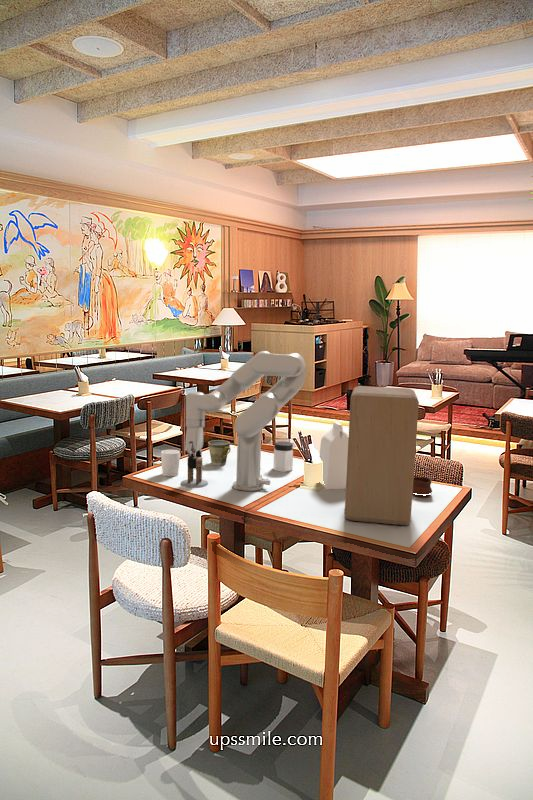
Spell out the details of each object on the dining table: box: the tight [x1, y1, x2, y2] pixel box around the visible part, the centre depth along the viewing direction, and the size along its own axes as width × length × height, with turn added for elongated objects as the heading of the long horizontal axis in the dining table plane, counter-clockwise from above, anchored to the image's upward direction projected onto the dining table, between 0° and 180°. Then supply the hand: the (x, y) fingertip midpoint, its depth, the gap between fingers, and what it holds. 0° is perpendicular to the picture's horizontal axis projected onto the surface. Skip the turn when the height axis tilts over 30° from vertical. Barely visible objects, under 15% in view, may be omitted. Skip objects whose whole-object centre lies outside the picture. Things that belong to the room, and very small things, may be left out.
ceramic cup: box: [207, 439, 231, 466], centre depth 283 cm, size 13×10×10 cm
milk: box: [319, 421, 349, 490], centre depth 256 cm, size 12×12×26 cm
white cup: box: [160, 449, 181, 477], centre depth 264 cm, size 8×8×10 cm
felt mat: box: [180, 478, 209, 488], centre depth 253 cm, size 11×11×1 cm
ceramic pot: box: [412, 476, 433, 501], centre depth 247 cm, size 18×18×7 cm
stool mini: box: [187, 457, 203, 484], centre depth 252 cm, size 6×6×10 cm
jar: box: [273, 440, 294, 473], centre depth 278 cm, size 9×8×12 cm
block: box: [344, 385, 420, 526], centre depth 219 cm, size 22×22×45 cm
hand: (194, 465), depth 251 cm, fingers open, 6 cm apart
